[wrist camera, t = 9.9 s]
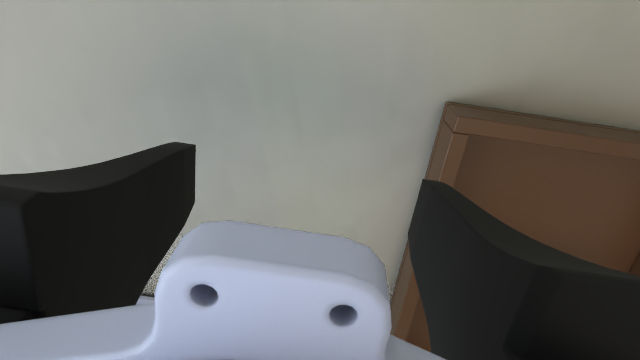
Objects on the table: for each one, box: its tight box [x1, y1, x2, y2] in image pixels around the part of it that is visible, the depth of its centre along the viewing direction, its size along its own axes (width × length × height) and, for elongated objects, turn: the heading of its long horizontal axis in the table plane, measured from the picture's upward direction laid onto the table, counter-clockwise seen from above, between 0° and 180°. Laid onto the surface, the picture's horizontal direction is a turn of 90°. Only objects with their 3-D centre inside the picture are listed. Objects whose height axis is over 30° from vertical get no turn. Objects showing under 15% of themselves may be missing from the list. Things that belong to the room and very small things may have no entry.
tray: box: [390, 102, 640, 352], centre depth 25 cm, size 19×14×2 cm
